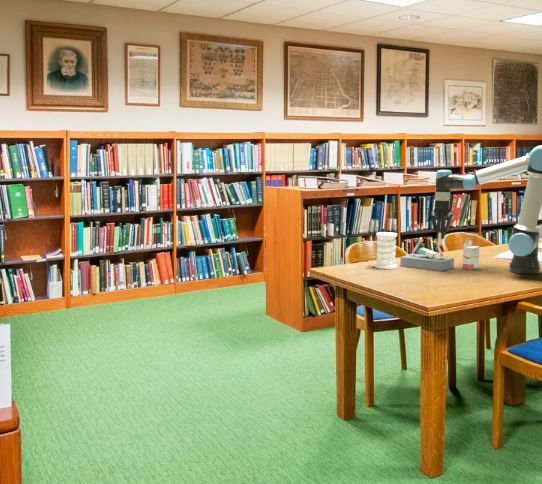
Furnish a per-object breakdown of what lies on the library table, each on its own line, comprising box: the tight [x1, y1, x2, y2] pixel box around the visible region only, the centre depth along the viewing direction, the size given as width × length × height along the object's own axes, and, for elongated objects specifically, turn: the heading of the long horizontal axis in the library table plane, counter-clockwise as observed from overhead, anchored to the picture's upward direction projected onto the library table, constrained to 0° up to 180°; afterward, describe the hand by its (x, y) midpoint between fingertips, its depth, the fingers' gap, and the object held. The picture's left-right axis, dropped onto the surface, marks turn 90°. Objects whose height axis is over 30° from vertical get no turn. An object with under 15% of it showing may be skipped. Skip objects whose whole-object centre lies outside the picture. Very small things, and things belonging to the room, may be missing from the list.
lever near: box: [433, 237, 444, 257], centre depth 337 cm, size 3×3×10 cm
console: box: [399, 253, 455, 272], centre depth 342 cm, size 24×14×6 cm, turn 53°
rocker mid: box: [417, 247, 438, 258], centre depth 342 cm, size 8×5×2 cm, turn 54°
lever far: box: [411, 237, 424, 254], centre depth 345 cm, size 3×3×10 cm
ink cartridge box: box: [462, 239, 480, 271], centre depth 337 cm, size 9×5×15 cm, turn 134°
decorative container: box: [374, 231, 398, 270], centre depth 341 cm, size 12×12×18 cm
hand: (440, 244), depth 337 cm, fingers closed
